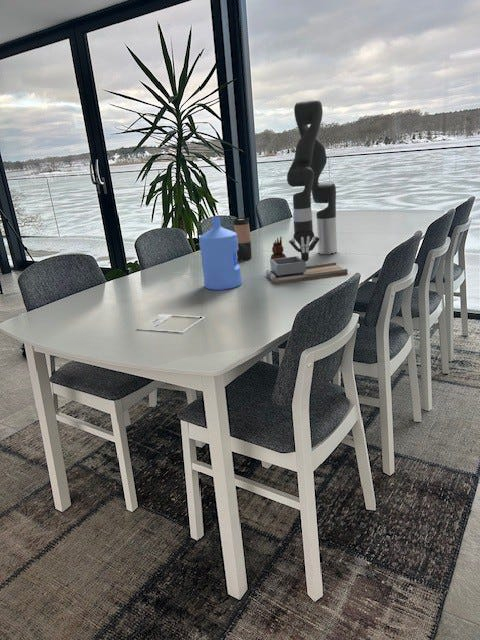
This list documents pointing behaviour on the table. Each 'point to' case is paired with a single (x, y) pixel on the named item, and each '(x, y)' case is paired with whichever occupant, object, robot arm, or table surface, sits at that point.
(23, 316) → the table surface
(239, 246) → the travel mug
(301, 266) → the shallow grey tray
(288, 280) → the rail board
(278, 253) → the wooden figurine
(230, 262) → the water jug
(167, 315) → the photo frame
